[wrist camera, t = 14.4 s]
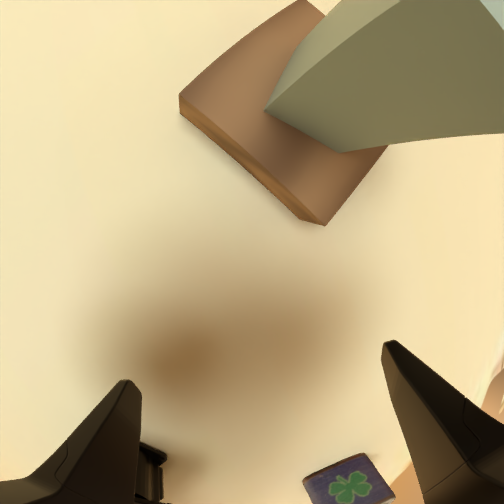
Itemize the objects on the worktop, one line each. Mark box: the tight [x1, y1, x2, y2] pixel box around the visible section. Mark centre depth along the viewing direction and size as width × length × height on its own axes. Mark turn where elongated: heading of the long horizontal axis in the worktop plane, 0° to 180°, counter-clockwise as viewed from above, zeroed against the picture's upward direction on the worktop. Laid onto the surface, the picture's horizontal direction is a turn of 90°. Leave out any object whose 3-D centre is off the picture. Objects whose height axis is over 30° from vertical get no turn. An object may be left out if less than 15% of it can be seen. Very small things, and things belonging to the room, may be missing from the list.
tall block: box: [263, 0, 504, 153], centre depth 9 cm, size 5×5×13 cm
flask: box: [303, 453, 396, 504], centre depth 24 cm, size 9×3×11 cm, turn 101°
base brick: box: [179, 0, 388, 226], centre depth 17 cm, size 11×11×4 cm
